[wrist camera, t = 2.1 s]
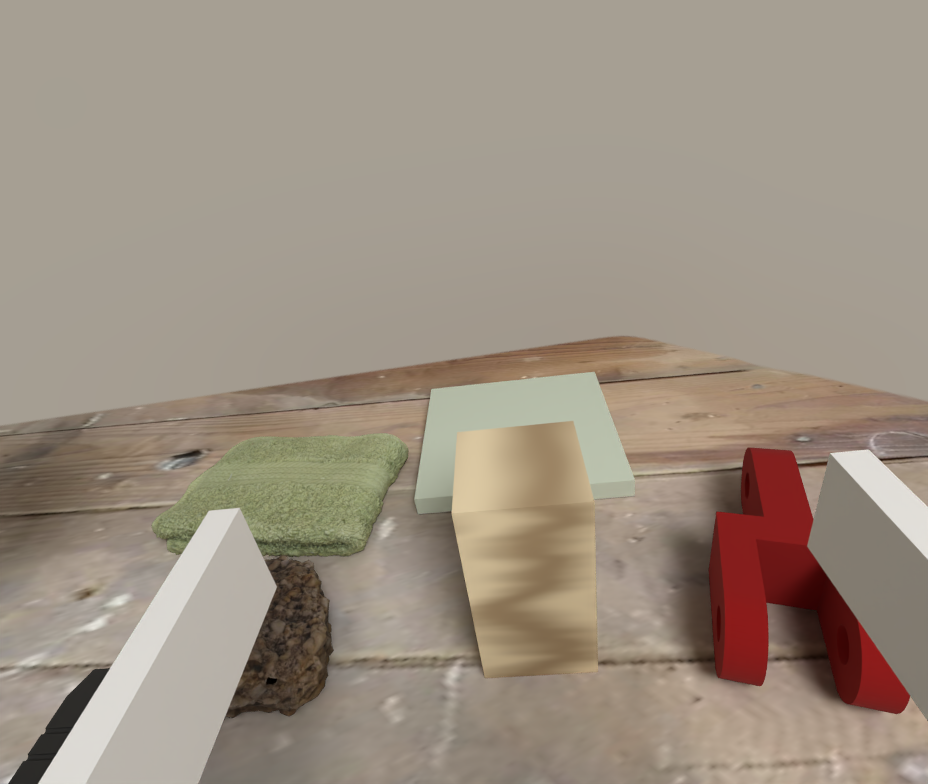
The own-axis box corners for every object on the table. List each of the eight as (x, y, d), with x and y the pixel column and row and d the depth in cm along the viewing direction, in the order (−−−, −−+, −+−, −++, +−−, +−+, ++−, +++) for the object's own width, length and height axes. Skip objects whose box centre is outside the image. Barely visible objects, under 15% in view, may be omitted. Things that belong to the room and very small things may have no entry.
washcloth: (242, 453, 52) (230, 425, 50) (416, 455, 48) (409, 425, 46) (150, 558, 41) (131, 528, 40) (364, 573, 37) (352, 540, 35)
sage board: (417, 514, 41) (414, 499, 40) (434, 401, 54) (431, 389, 54) (634, 496, 39) (635, 480, 38) (594, 385, 53) (594, 371, 52)
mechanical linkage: (891, 736, 24) (924, 670, 22) (716, 698, 27) (728, 635, 24) (816, 496, 37) (831, 438, 34) (702, 485, 39) (708, 430, 37)
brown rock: (335, 740, 27) (307, 683, 25) (139, 771, 27) (91, 717, 25) (357, 565, 37) (338, 511, 35) (213, 588, 37) (184, 536, 35)
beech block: (484, 678, 29) (451, 513, 23) (484, 586, 34) (457, 432, 28) (597, 672, 28) (594, 501, 22) (580, 579, 34) (573, 420, 27)
